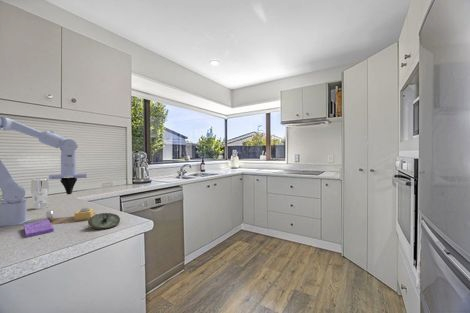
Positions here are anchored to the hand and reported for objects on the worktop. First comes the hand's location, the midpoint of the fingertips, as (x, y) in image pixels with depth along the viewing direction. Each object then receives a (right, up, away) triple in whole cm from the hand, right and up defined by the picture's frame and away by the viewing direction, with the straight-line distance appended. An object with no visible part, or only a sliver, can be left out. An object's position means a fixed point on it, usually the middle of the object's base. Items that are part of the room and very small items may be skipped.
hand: (69, 194), depth 98 cm
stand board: (+8, -9, -11) cm, 16 cm away
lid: (+28, -9, -18) cm, 34 cm away
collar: (+14, -9, -9) cm, 18 cm away
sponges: (+7, -9, -23) cm, 26 cm away
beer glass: (-26, -10, +14) cm, 31 cm away
